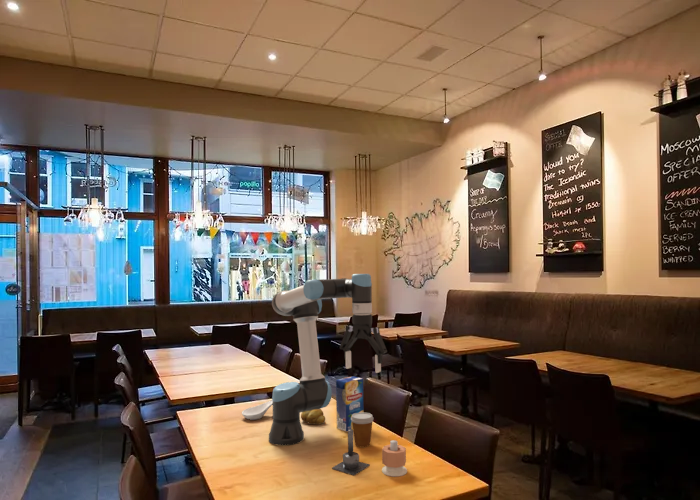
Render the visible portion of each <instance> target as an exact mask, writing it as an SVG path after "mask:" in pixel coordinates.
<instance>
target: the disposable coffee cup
mask: <svg viewBox="0 0 700 500" xmlns="http://www.w3.org/2000/svg"><path fill="white" fill-rule="evenodd" d="M374 420H375V419H374V417H373V414H371V413H370V412H360V413H355V414H353V415H352V417H351V421H352V425H353V441H354V445H355V446H356V447H357V448H367V447H370V446H371V440H372V439H371V438H372V429H373V421H374Z"/></svg>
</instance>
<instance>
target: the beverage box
mask: <svg viewBox="0 0 700 500" xmlns="http://www.w3.org/2000/svg"><path fill="white" fill-rule="evenodd" d="M335 383H336V384H335V385H336V386H335V387H336V388H335V394H336V395H335V396H336V397H335V398H336V399H335V401H336V402H335V403H336V409H335V410H336V429H339V430H341V431H344V432H347V433H348V430H349V429H352V430H353V425H352V421H351V417H352V415H353V414H355V413H360V412H364V378H363V377H358V376H354V375H353V376H348V377H343V378H339V379H336V380H335ZM364 413H365V412H364Z"/></svg>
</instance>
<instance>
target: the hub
mask: <svg viewBox="0 0 700 500" xmlns="http://www.w3.org/2000/svg"><path fill="white" fill-rule="evenodd" d="M389 442H390V444H389V445H390V451H398V445H399V444H398V441H397V440H396V439H395V440H390V441H389ZM381 472H382V474H384V476H385V475H386V476H388V477H394V478H395V477H398V478H399V477H402V476H405V475H406V474H407V473H408V469H407V467H405V466H401V467H398V468H394V467H387V466H385V465H384V466H382V468H381Z"/></svg>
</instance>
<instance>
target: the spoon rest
mask: <svg viewBox="0 0 700 500" xmlns="http://www.w3.org/2000/svg"><path fill="white" fill-rule="evenodd" d="M271 407H273V400H272V399H271V400H269V401H266V402H263V403H261V404H258V405H255V406H252V407H248V408H245V409H243V410H242V412H241V415H242V416H243V417H244V418H245V419H247V420H249V419H250V420H251V421H257V420H260V419H261V418H262V417H264V416H265V414H266V413H267V411H268V410H269V409H270V408H271Z"/></svg>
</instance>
